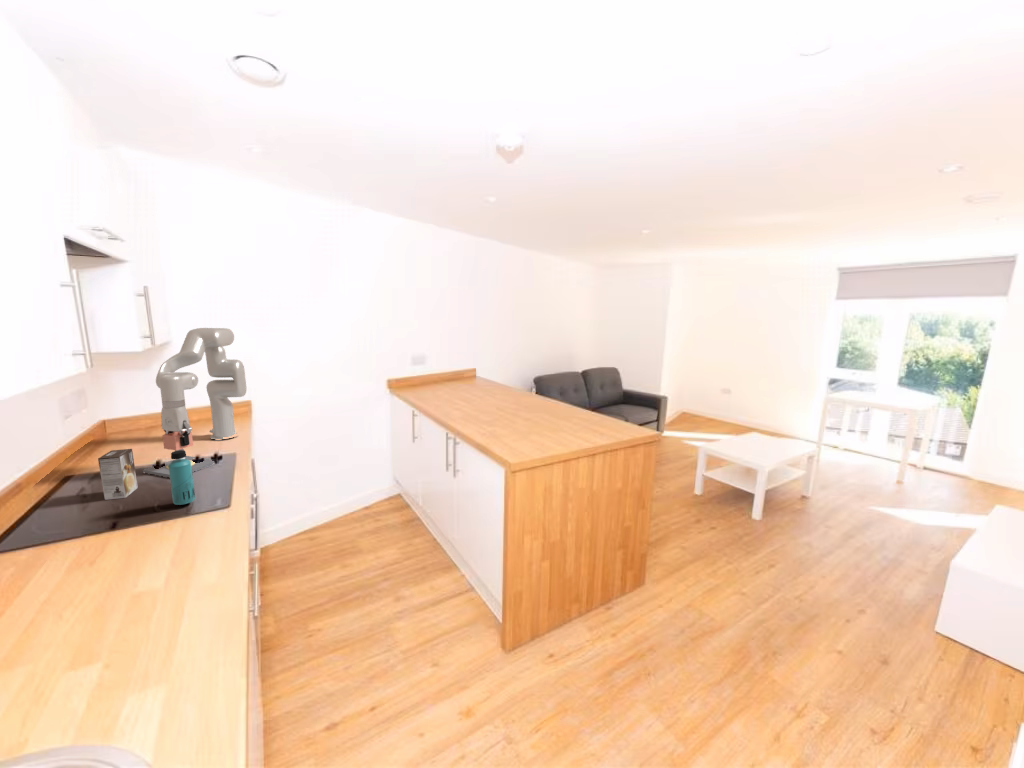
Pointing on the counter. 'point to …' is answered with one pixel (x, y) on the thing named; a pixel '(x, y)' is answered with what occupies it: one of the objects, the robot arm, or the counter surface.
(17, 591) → the counter surface
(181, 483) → the beverage bottle
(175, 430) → the robot arm
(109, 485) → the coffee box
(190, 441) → the collar
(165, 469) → the post board
